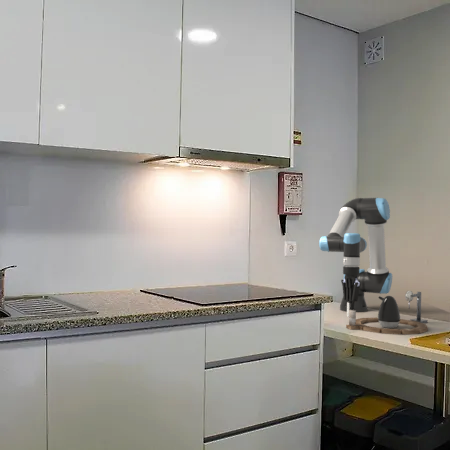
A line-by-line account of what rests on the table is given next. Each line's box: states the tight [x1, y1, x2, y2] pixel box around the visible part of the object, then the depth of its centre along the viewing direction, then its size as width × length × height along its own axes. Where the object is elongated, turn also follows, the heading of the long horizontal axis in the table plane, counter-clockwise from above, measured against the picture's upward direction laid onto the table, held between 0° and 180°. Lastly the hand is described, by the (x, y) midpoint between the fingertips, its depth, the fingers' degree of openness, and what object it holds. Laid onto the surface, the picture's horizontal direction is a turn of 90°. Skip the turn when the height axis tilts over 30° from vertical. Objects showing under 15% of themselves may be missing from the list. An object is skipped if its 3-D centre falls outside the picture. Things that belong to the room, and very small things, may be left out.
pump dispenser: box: [377, 295, 401, 329], centre depth 262 cm, size 10×10×15 cm
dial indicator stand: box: [404, 290, 428, 324], centre depth 274 cm, size 14×6×16 cm, turn 126°
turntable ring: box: [345, 310, 429, 335], centre depth 261 cm, size 34×38×8 cm
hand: (350, 316), depth 258 cm, fingers closed
